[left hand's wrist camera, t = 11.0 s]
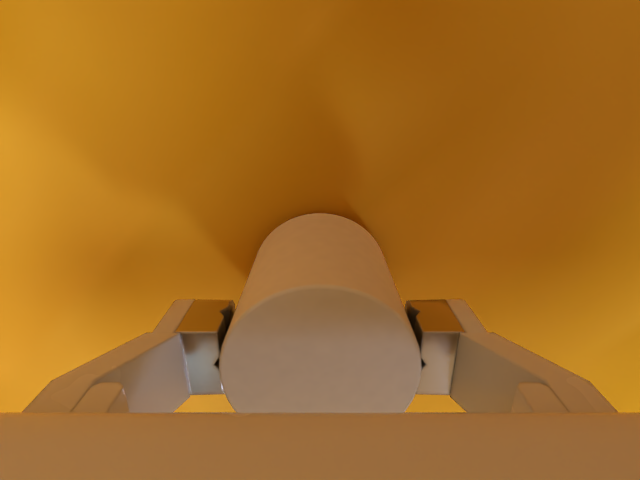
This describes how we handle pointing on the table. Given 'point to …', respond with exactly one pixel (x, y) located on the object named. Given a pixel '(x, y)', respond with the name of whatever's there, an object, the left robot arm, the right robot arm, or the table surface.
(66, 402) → the left robot arm
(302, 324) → the canister
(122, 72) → the table surface
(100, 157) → the table surface
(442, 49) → the table surface
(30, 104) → the table surface
